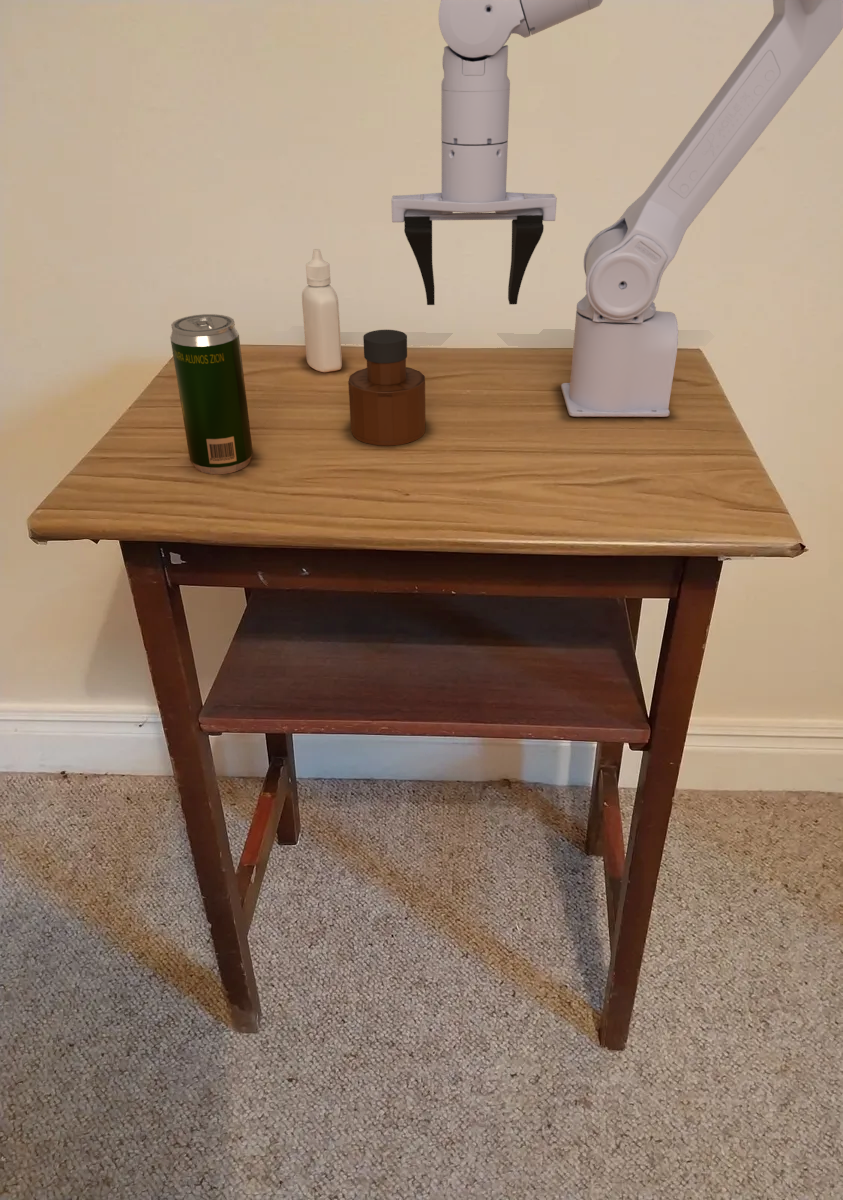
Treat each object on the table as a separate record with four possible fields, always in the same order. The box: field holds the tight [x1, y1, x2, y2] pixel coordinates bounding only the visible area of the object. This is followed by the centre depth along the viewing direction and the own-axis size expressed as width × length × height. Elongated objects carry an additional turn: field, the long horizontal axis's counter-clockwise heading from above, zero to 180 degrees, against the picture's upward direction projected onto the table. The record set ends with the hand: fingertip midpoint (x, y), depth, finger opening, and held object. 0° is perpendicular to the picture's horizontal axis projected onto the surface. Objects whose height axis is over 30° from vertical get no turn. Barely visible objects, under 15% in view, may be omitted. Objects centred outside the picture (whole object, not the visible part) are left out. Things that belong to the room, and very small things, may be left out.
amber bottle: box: [347, 358, 426, 447], centre depth 82 cm, size 7×7×7 cm
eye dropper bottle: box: [301, 248, 343, 373], centre depth 96 cm, size 4×6×12 cm
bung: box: [362, 329, 408, 363], centre depth 80 cm, size 4×4×3 cm
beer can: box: [169, 313, 254, 475], centre depth 75 cm, size 5×5×12 cm
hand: (471, 301), depth 85 cm, fingers open, 7 cm apart
